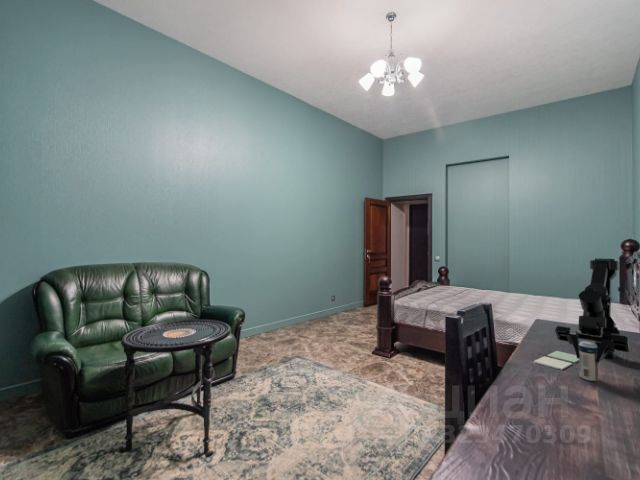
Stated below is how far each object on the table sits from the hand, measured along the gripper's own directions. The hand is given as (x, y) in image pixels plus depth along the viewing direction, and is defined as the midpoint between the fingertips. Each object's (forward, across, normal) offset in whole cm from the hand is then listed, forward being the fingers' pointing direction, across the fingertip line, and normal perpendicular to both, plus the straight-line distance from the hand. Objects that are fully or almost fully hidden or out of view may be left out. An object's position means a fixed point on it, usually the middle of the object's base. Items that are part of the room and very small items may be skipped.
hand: (587, 359), depth 104 cm
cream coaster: (-2, -12, +11) cm, 16 cm away
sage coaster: (-10, -10, +19) cm, 24 cm away
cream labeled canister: (+4, 0, +6) cm, 7 cm away
